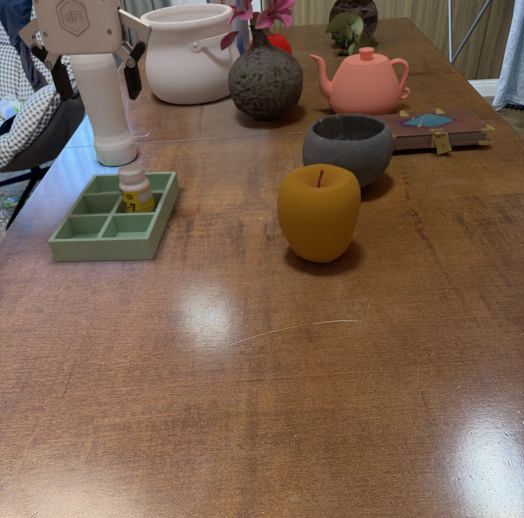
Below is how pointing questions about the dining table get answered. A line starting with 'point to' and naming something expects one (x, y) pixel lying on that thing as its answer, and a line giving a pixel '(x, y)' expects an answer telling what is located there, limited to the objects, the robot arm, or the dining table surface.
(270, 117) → the vase
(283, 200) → the apple
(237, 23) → the milk carton
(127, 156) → the bottle
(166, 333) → the dining table surface
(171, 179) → the tray
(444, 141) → the book
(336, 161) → the bowl
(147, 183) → the supplement bottle
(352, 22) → the potted plant
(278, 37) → the tomato
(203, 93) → the pot
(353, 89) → the teapot
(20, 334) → the dining table surface
